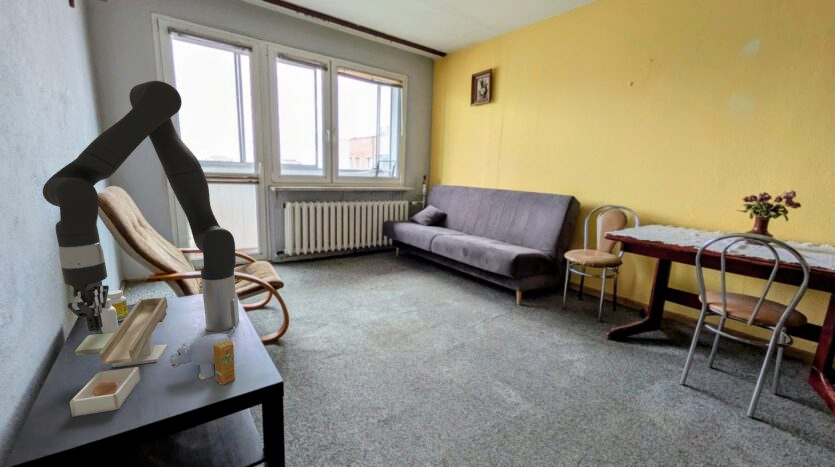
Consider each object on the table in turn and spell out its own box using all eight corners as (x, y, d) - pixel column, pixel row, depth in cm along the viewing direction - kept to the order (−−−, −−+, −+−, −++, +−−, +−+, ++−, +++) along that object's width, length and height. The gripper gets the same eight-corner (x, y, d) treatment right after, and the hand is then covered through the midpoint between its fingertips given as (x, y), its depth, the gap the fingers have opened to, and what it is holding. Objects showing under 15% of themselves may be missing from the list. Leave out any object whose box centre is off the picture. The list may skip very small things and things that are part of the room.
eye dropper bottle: (120, 326, 112) (115, 291, 109) (118, 333, 107) (113, 297, 105) (102, 329, 109) (96, 294, 107) (100, 337, 105) (93, 300, 103)
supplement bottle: (108, 318, 117) (104, 291, 115) (128, 314, 121) (124, 288, 119) (107, 323, 113) (103, 296, 111) (128, 319, 117) (124, 292, 115)
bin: (140, 379, 86) (138, 366, 85) (118, 409, 75) (116, 395, 75) (100, 385, 83) (98, 372, 82) (72, 416, 73) (69, 401, 72)
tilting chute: (169, 312, 107) (165, 296, 105) (137, 367, 86) (132, 349, 84) (119, 316, 103) (115, 300, 101) (73, 375, 82) (66, 357, 80)
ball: (111, 382, 76) (111, 400, 76) (120, 376, 80) (120, 393, 80) (88, 386, 75) (89, 404, 75) (98, 378, 79) (99, 396, 79)
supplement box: (223, 386, 84) (219, 348, 82) (215, 381, 86) (212, 344, 84) (236, 379, 87) (233, 342, 85) (228, 374, 88) (225, 338, 87)
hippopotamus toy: (171, 367, 91) (166, 334, 89) (234, 350, 100) (231, 319, 98) (173, 389, 83) (169, 352, 81) (242, 368, 92) (239, 335, 90)
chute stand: (168, 346, 101) (165, 326, 99) (157, 361, 93) (154, 339, 92) (126, 351, 98) (123, 330, 96) (112, 367, 90) (108, 344, 89)
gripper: (87, 269, 77) (100, 340, 81) (116, 254, 89) (126, 316, 93) (44, 272, 75) (59, 344, 78) (79, 256, 87) (92, 319, 90)
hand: (96, 329), depth 86 cm, fingers closed
